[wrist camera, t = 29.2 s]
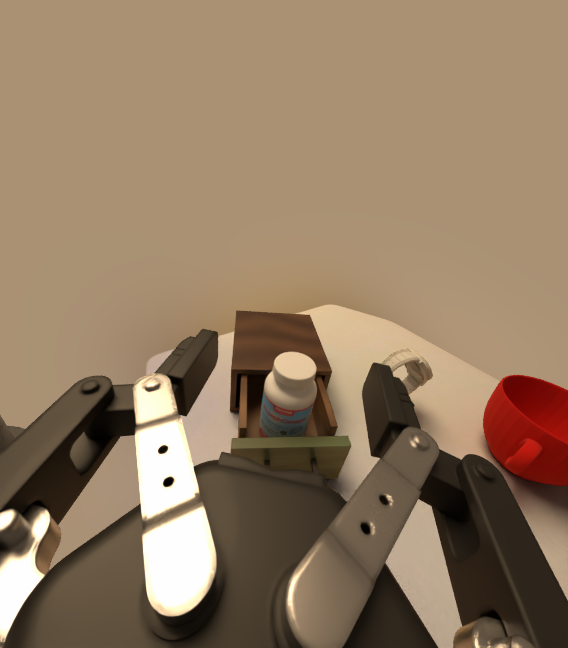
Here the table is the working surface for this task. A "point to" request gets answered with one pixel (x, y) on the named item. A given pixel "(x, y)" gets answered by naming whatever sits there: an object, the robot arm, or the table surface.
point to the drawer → (290, 452)
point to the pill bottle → (288, 396)
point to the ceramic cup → (529, 429)
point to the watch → (410, 368)
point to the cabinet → (272, 345)
